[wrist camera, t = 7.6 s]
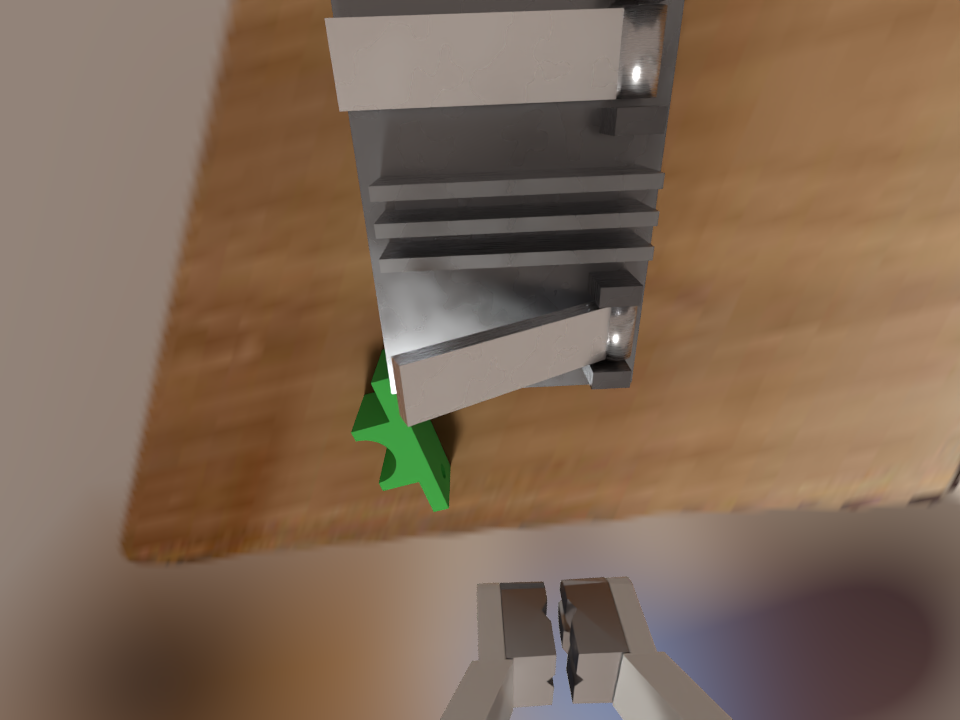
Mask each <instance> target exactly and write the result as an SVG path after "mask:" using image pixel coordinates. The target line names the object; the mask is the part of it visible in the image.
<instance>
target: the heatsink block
mask: <svg viewBox="0 0 960 720" xmlns="http://www.w3.org/2000/svg"><path fill="white" fill-rule="evenodd" d="M331 4H332V10H333V17H334V18H345V17H374V16H403V15H432V14H461V13H490V12H520V11H549V10H578V9H607V8H626V7H630V6H636V5H644V4H665V5H668V11H667V19H666V26H665V34H664V42H663V50H662V58H661V66H660V74H659V82H658V90H657V97H656V98H636V99H613V100H590V101H567V102H544V103H521V104H499V105H476V106H453V107H430V108H407V109H384V110H361V111H348V114H349V120H350V127H351V133H352V140H353V146H354V153H355V159H356V166H357V172H358V178H359V185H360V191H361V198H362V204H363V211H364V217H365V224H366V230H367V237H368V243H369V250H370V256H371V263H372V269H373V276H374V282H375V288H376V295H377V301H378V308H379V314H380V321H381V327H382V334H383V340H384V347H385V353H386V360H387V366H388V373H389V379H390V386H391V392H392V394H397V393H396V387H395V380H394V373H393V366H392V360H391V356H394V355H397V354H401V353H405V352H408V351H412V350H416V349H420V348H423V347H427V346H431V345H434V344H438V343H442V342H445V341H449V340H453V339H456V338H460V337H464V336H467V335H471V334H475V333H478V332H482V331H486V330H489V329H493V328H497V327H500V326H504V325H508V324H511V323H515V322H519V321H522V320H526V319H530V318H533V317H537V316H541V315H544V314H548V313H552V312H556V311H559V310H563V309H567V308H570V307H574V306H578V305H581V304H585V303H589V302H592V301H595V302H596V304H597V305H598V307H599V308H607V307H628V306H638V307H637V314H636V322H635V329H634V336H633V344H632V351H631V356H630V357H629V358H628V359H626V360H621V361H612V360H607V359H604V360H601V361H599V362H596V363H593V364H590V365H587V366H584V367H581V368H578V369H575V370H572V371H569V372H567V373H564V374H561V375H558V376H555V377H552V378H549V379H546V380H543V381H540V382H537V383H535V384H532V385H529V386H526V387H544V386H565V385H585V384H590V387H591V389H608V388H629V387H630V382H631V381H632V374H633V367H634V360H635V353H636V345H637V338H638V331H639V324H640V317H641V309H642V302H643V295H644V288H645V281H646V273H647V266H648V261H649V260H653V253H654V246H652V245H651V237H652V230H653V226H657V225H658V218H659V211H658V210H656V201H657V194H658V189H663V183H664V176H665V173H663V172H661V165H662V158H663V151H664V144H665V137H666V129H667V122H668V115H669V108H670V101H671V93H672V86H673V79H674V72H675V65H676V58H677V50H678V43H679V36H680V29H681V22H682V14H683V7H684V0H331ZM523 388H524V387H523Z"/></svg>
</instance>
